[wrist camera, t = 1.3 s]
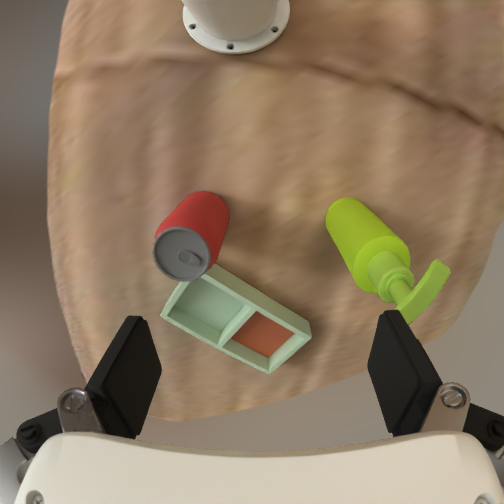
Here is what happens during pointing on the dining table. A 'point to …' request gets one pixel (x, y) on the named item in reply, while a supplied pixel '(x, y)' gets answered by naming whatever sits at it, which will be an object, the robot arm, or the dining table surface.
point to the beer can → (191, 237)
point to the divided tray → (237, 319)
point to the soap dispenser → (381, 259)
